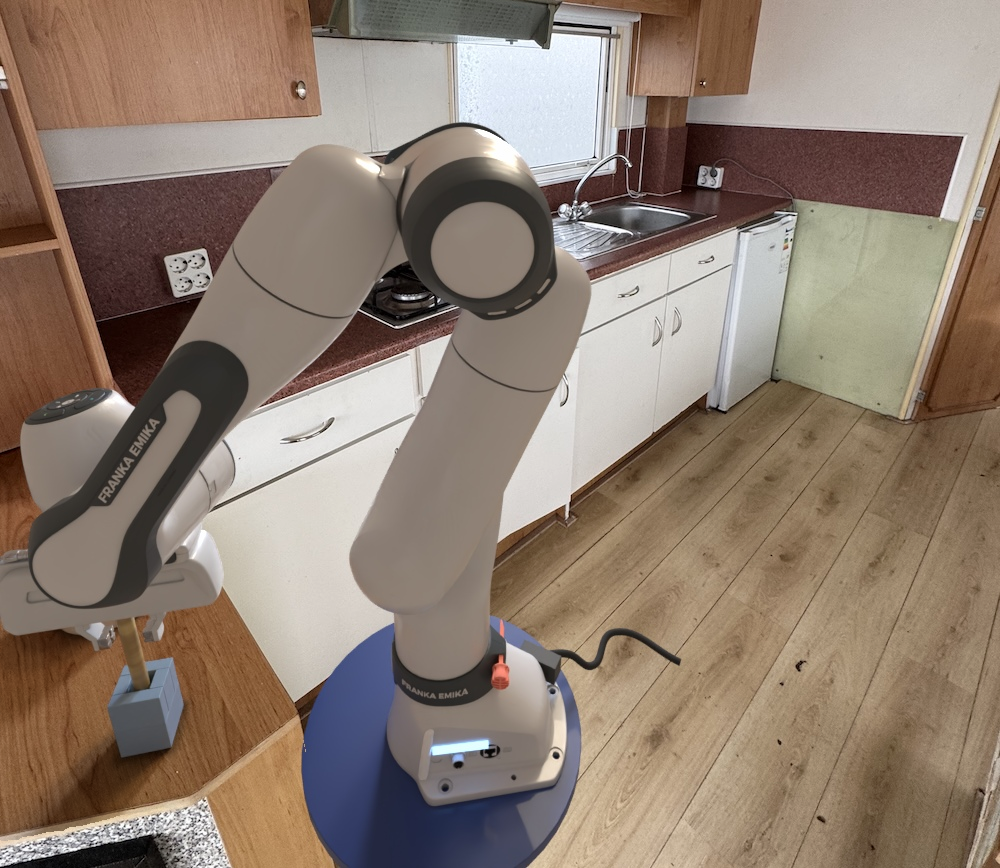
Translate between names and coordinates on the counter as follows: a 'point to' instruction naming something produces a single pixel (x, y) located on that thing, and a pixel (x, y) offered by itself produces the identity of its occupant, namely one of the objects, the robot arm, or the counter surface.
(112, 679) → the counter surface
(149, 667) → the holder
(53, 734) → the counter surface
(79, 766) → the counter surface
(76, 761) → the counter surface
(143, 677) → the stirring stick
